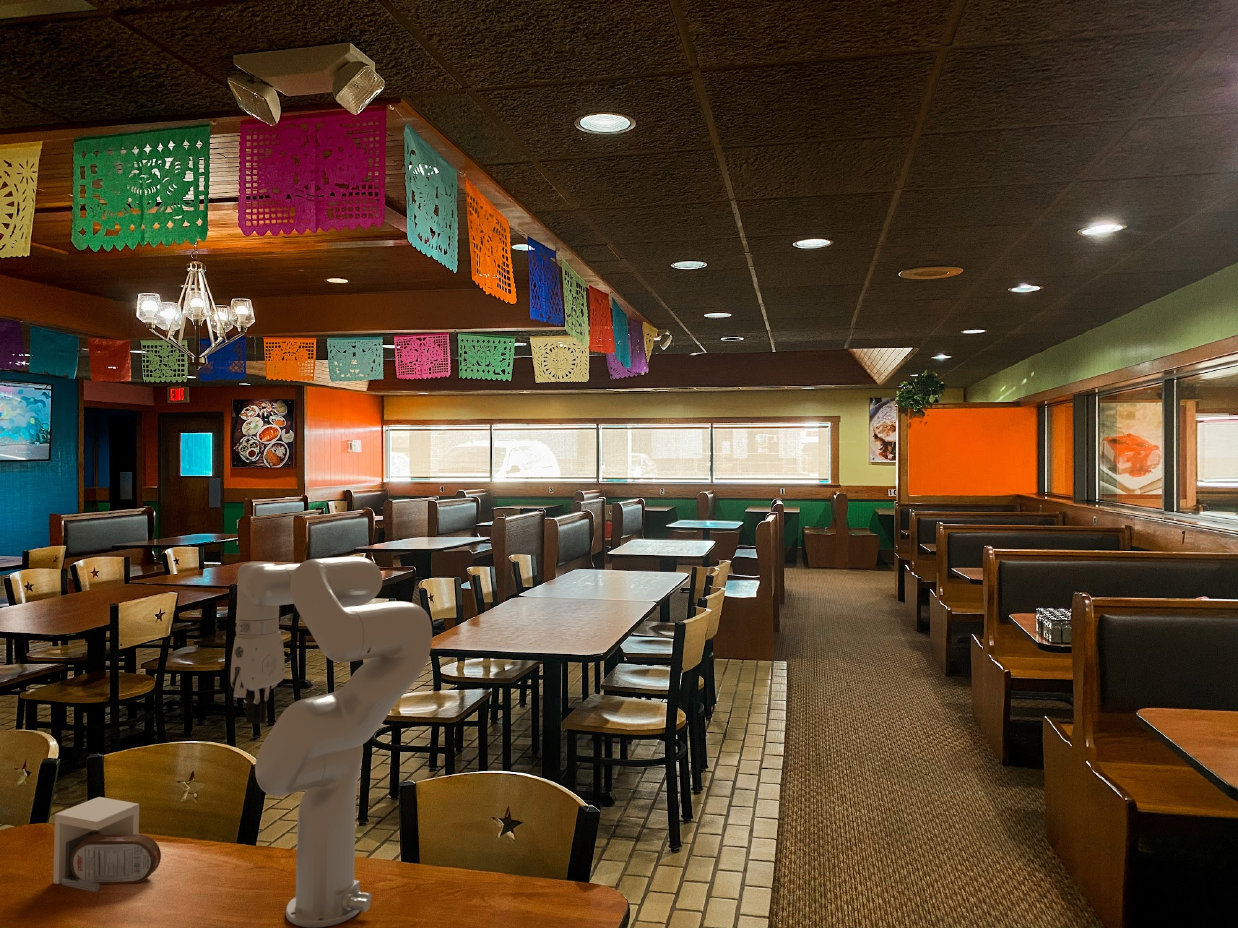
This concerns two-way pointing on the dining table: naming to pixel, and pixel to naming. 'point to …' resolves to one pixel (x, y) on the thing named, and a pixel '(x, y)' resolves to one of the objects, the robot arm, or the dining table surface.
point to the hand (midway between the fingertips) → (255, 722)
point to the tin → (115, 858)
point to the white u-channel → (89, 832)
